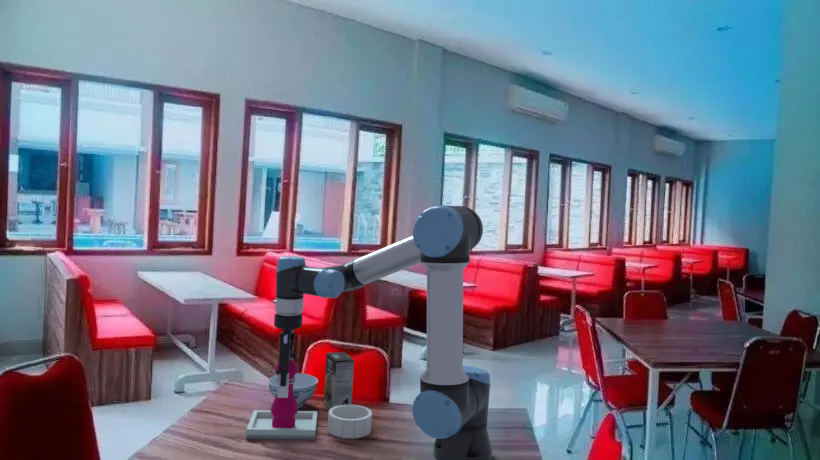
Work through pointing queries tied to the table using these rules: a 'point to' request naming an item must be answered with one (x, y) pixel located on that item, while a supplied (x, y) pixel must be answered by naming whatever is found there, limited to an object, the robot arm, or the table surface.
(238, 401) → the table surface
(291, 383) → the pepper mill
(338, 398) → the coffee box
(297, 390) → the chinaware
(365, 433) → the cup
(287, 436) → the tray
